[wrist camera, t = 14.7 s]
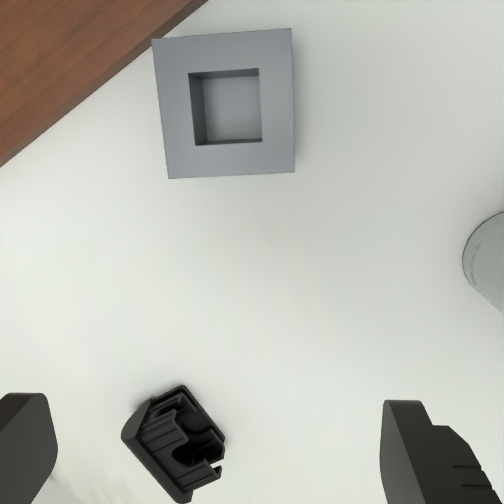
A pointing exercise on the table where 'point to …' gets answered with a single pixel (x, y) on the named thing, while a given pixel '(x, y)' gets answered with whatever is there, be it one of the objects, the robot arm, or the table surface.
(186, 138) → the grey square socket block
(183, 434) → the end cap
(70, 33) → the flat brown board
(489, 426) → the table surface
